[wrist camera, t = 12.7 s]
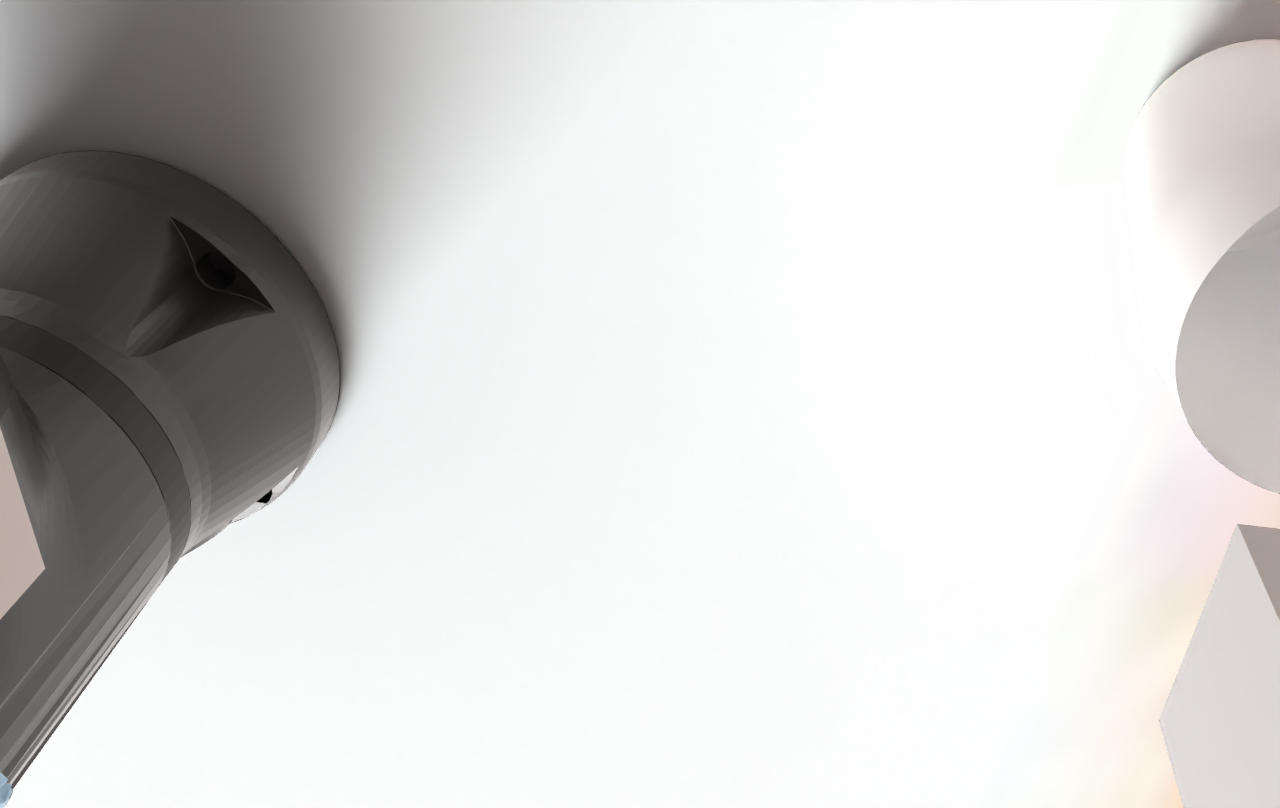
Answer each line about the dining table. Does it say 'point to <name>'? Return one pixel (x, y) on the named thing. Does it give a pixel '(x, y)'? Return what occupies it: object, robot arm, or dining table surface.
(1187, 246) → the cup
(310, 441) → the robot arm
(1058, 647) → the dining table surface
